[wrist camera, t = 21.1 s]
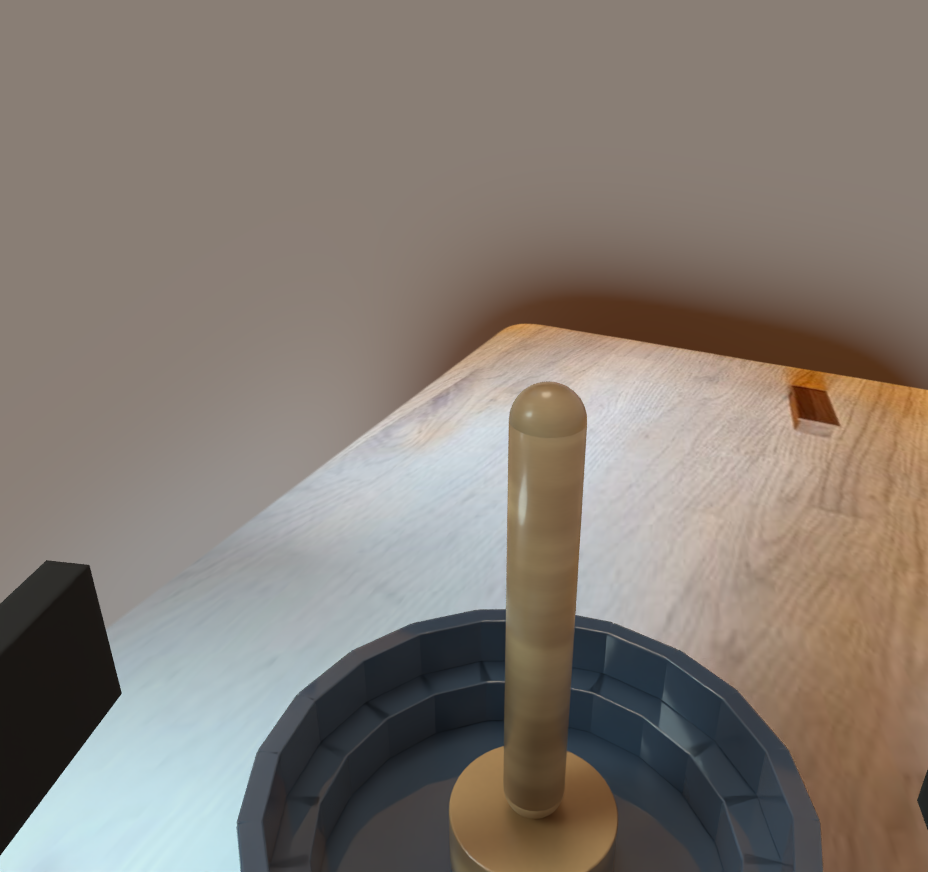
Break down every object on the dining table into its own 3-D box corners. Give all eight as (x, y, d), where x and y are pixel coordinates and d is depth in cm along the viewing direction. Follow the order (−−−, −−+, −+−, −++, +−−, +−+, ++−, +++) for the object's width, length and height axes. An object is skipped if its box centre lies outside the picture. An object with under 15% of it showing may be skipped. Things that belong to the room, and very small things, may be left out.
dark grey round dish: (238, 759, 34) (221, 663, 32) (630, 663, 39) (639, 574, 36) (298, 1347, 19) (273, 1242, 17) (927, 1072, 24) (974, 963, 21)
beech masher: (430, 812, 31) (413, 360, 23) (571, 772, 32) (600, 336, 24) (480, 958, 26) (479, 449, 18) (643, 904, 27) (708, 413, 19)
